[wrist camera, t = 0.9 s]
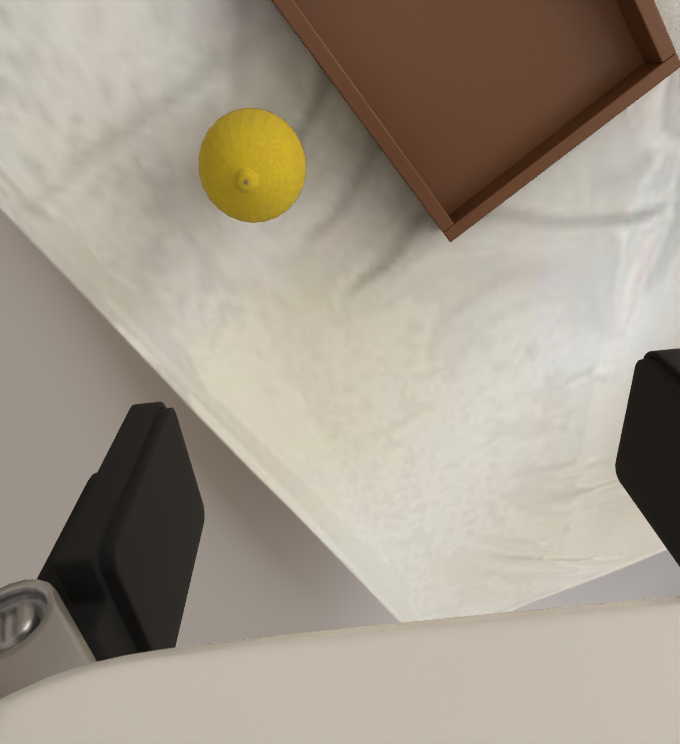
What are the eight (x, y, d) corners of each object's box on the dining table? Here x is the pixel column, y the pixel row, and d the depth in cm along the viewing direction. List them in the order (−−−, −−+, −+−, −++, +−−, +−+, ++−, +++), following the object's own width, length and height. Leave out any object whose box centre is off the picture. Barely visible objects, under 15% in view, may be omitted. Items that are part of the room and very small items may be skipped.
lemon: (300, 207, 34) (297, 248, 27) (210, 194, 34) (183, 232, 27) (312, 110, 32) (312, 128, 25) (214, 93, 31) (186, 107, 24)
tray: (248, -33, 28) (242, -39, 26) (493, -297, 24) (512, -333, 22) (442, 230, 35) (450, 242, 33) (656, 64, 31) (682, 65, 29)
